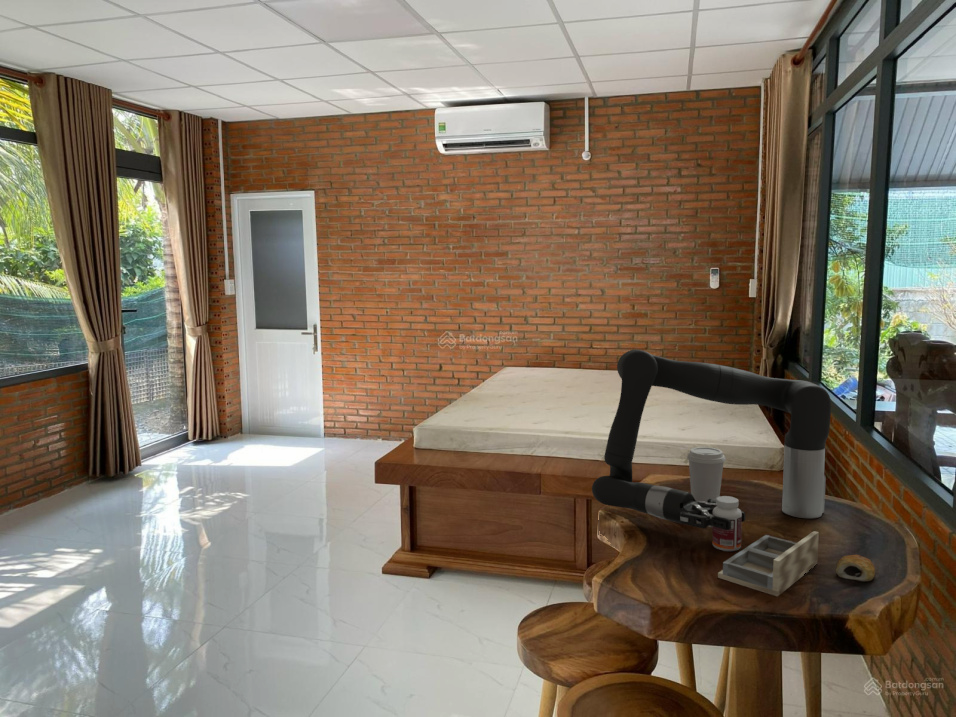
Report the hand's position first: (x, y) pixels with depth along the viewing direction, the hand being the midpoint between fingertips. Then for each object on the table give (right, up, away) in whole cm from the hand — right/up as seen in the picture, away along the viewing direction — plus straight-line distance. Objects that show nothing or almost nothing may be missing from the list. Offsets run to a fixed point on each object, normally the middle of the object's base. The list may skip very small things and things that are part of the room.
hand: (737, 521), depth 155 cm
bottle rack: (+3, -8, -10) cm, 13 cm away
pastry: (+20, -8, -12) cm, 24 cm away
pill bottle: (-2, -7, +3) cm, 7 cm away
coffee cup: (+2, -3, +28) cm, 29 cm away
